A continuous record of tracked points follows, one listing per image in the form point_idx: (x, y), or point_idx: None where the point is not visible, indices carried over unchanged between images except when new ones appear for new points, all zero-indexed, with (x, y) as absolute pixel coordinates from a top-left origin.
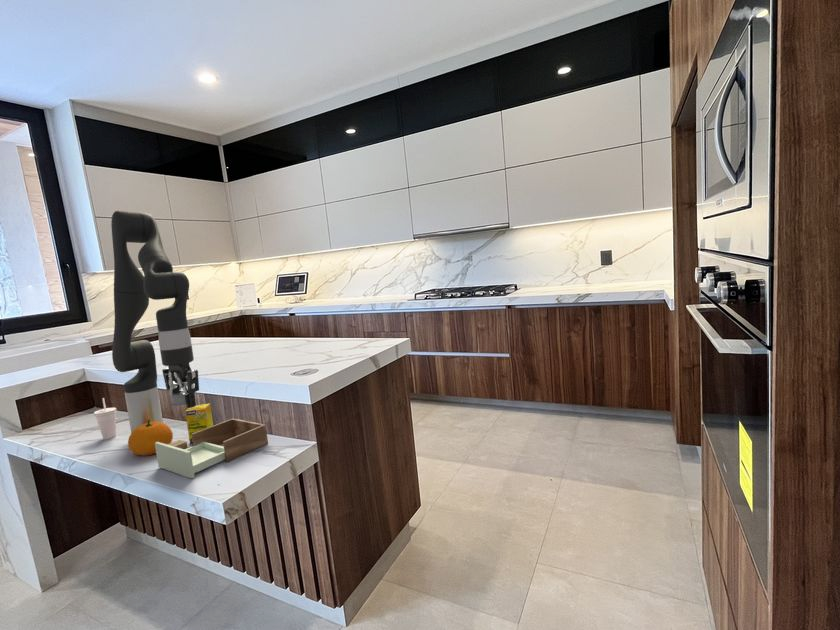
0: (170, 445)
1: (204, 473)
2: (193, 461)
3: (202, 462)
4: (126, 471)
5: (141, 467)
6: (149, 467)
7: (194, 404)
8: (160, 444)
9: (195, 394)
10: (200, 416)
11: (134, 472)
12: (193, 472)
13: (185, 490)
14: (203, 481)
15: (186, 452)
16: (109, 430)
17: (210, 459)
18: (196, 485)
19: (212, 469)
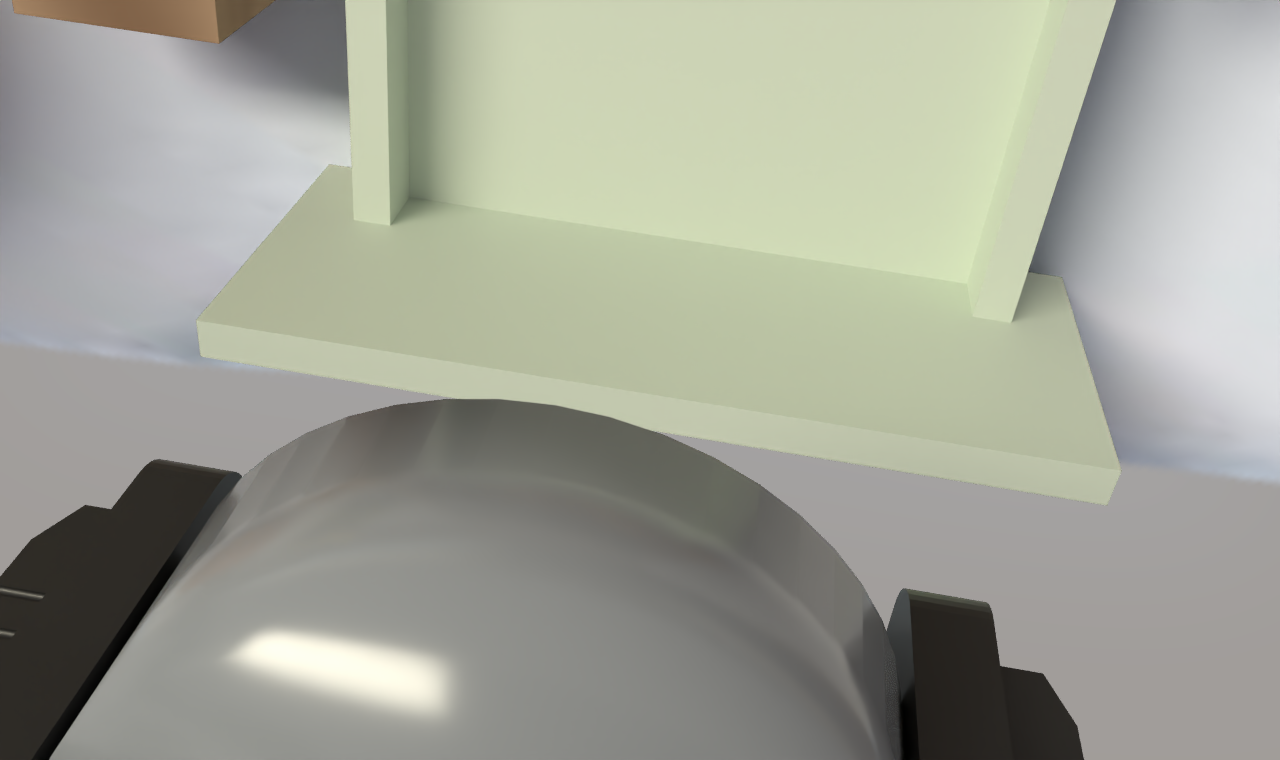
0: (109, 9)
1: (1087, 155)
2: (744, 60)
3: (1057, 176)
4: (80, 323)
5: (119, 225)
6: (209, 204)
7: (1038, 708)
8: (358, 380)
9: (821, 717)
10: None
11: (192, 320)
12: (1070, 313)
13: (1172, 462)
14: (1239, 298)
15: (1072, 497)
16: None
17: (1092, 61)
18: (1220, 374)
19: (1116, 47)
